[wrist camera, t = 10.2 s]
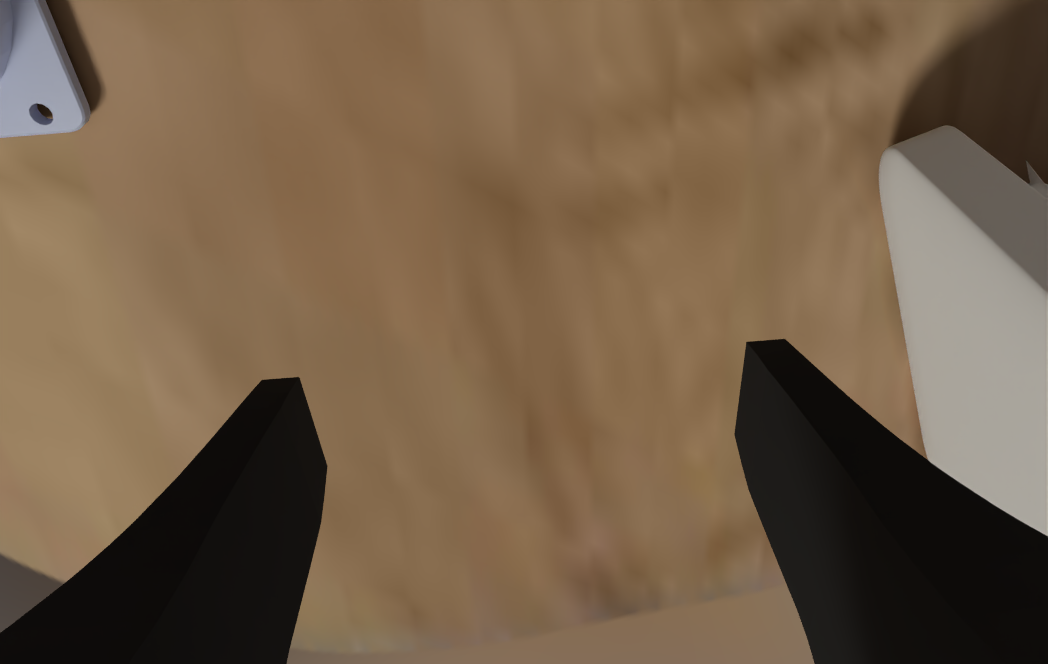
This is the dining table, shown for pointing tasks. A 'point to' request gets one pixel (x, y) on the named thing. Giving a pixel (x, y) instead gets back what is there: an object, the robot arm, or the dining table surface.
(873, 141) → the dining table surface
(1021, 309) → the cable organizer
